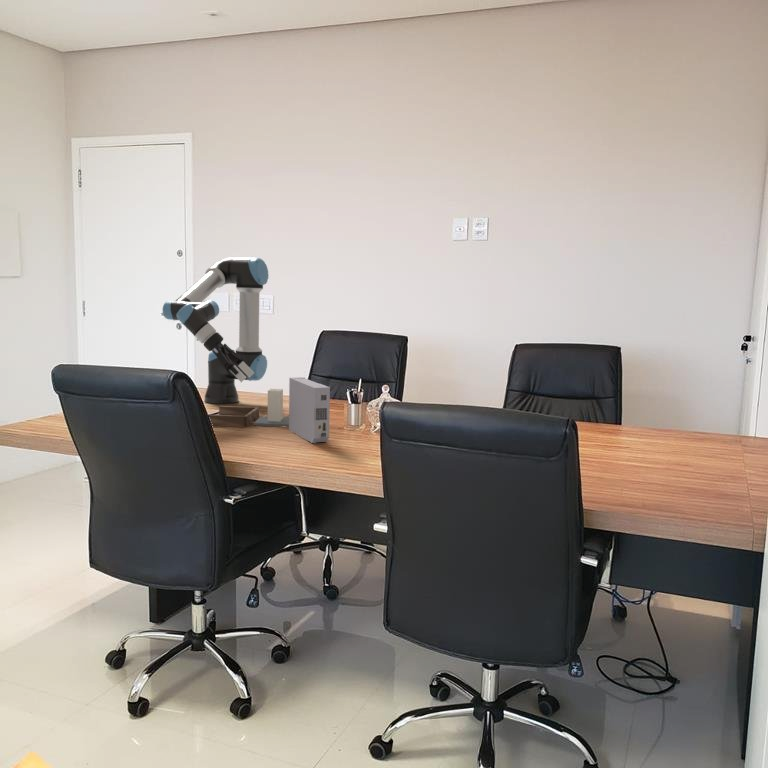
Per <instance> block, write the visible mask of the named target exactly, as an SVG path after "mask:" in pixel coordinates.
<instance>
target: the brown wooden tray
mask: <svg viewBox="0 0 768 768" xmlns="http://www.w3.org/2000/svg"><path fill="white" fill-rule="evenodd" d="M218 412H219V413H218V414H208V415H209V417H210V419H211V422H212V424H213V427H234V426H238V427H239V428H240V427H241V428H247V427H249V426H250V425H251V424H252V423H254V422H255V421H256V420H258V419H259V418H260V407H258V406H236V405H235V406H230V405H219V407H218ZM258 417H259V418H258ZM253 421H254V422H253ZM248 425H249V426H248Z"/></svg>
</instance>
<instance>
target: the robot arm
mask: <svg viewBox="0 0 768 768" xmlns="http://www.w3.org/2000/svg"><path fill="white" fill-rule="evenodd" d="M268 280H269V269H268V265H267V264H266V261H264V260H263V259H262V258H260V257H253V256H251V257H247V256H246V257H244V256H243V257H241V256H240V257H239V256H238V257H236V256H235V257H234V256H231V257H227V258H223V259H220V260H218V261H217V262H215V263H214V264H212V265H211V266H210V267H208V268H207V269H206V271H205V273H204V275H203V276H201V277H200V278H199V280H197V281H196V282H195V283H193V285H192V286H190V287H189V288H188V289H187V290H186V291H185V292H183V294H181V295H180V296H179V297H178V298H177V299H175V300H169V301H165V303H163V306H162V314H163V316H164V318H165V319H166V320H169V321H170V320H172V321H179V322H180V323H181V324H182V325H183V326H184V327H185V328H186V329H187V330H188V331H189V332H190V333H191V334H192V335H193V337H195V340H196V341H199V342H200V344H203V346H204V348H205V349H206V350H207V351H208V352H210V353H209V354H208V360H207V365H208V367H207V373H208V374H207V375H208V376H207V377H208V382H207V383H208V384H207V389H206V390H205V393H204V402H205V403H207V404H233V403H238V402H239V399H240V397H239V393H238V391H237V388H236V385H235V384H236V383H235V380H238V381H239V382H240V383H242V382H244V381H249V382H251V381H252V382H253V381H255V382H256V381H260V380H262V378H263V377H264V376H265V374H266V371H267V368H268V360H267V356H266V355H265V354H263V350H262V348H261V347H260V343H259V342H260V292H261V291H262V290H264V286H265V285H266V284H267V283H268ZM231 284H232V285H234V284H235V286H236V287H235V289H236V290H237V291H238V292H239V313H238V314H239V318H238V319H239V322H238V323H239V328H238V329H239V330H238V331H239V332H238V334H239V335H238V337H239V338H238V347H237V348H236V349H235V350H234V349H232V348H231V347H230V346H229V345H227V343H222V342H223V341H224V337H223V336H222V335H221V333H219V332H218V331H217V330H216V329H215V328H214V326H212V325H211V324H210V321H212V320H215V318H216V317H218V315H219V313H220V307H219V305H218V303H217V302H216V301H214V300H213V299H208V300H206V299H207V298H208V297H209V296H210V295H211V294H212V293H213V292H215V291H216V289H218V288H219V289H220V288H222V287H223V286H225V285H231Z"/></svg>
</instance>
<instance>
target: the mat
mask: <svg viewBox="0 0 768 768" xmlns="http://www.w3.org/2000/svg"><path fill="white" fill-rule="evenodd" d="M252 423H253V425H256V427H257V426H259V427H276V426H288V427H287V428H289V416H286V417H285V416H283V419H282V420H281V421H280V422H278V421H268V415H266V416H265V415H262V416H259V418H257V419H256V420H255V421H254V422H252ZM253 425H252V426H253Z"/></svg>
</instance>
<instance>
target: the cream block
mask: <svg viewBox="0 0 768 768" xmlns="http://www.w3.org/2000/svg"><path fill="white" fill-rule="evenodd" d="M283 404H284V389H283V388H282V389H281V388H270V389H268V390H267V416H268V421H278V422H280V421H281V420H282V419H283V417H284V416H283V415H284V414H283V413H284V412H283V410H284V407H283V406H284V405H283Z"/></svg>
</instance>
